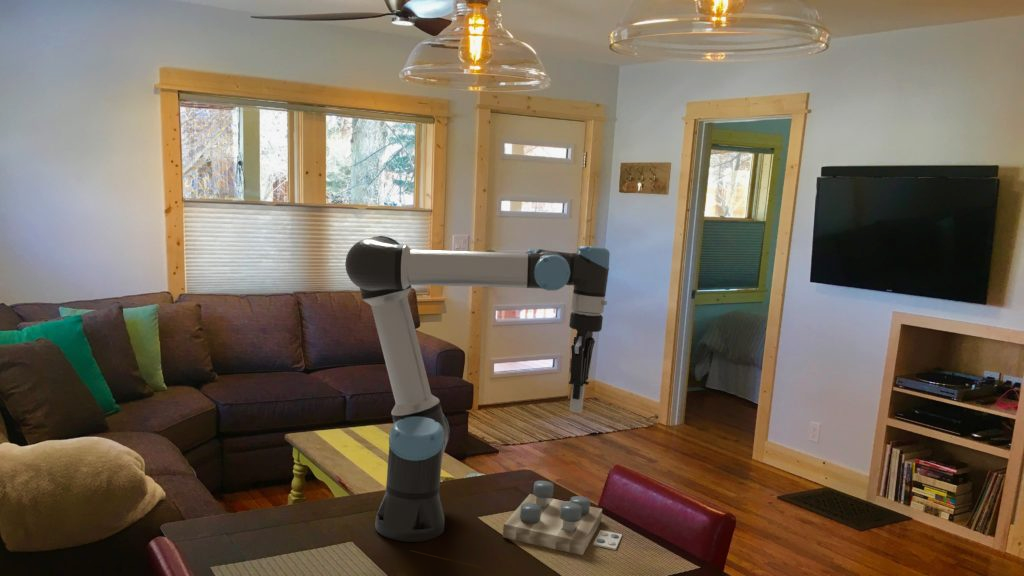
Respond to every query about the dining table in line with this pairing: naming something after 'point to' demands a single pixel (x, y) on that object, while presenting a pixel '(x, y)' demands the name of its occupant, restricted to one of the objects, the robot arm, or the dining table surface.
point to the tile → (607, 540)
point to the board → (553, 528)
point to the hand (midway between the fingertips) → (575, 411)
